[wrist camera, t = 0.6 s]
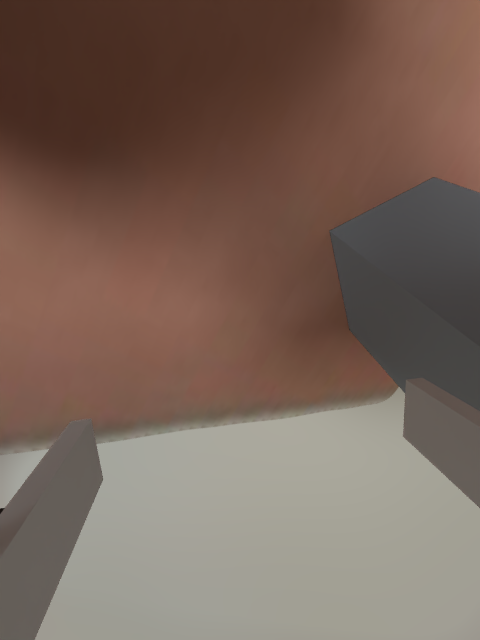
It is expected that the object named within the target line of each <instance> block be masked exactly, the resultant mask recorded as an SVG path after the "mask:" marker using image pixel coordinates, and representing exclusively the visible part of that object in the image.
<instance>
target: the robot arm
mask: <svg viewBox="0 0 480 640" xmlns="http://www.w3.org/2000/svg"><path fill="white" fill-rule="evenodd" d="M403 437H404V438H405V439H406V440H407V441H408V442H410V443H411V444H412V445H413V446H414V447H415V448H416V449H417V450H418V451H419V452H420V453H421V454H423V455H424V456H425V457H426V458H427V459H428V460H429V461H430V462H431V463H432V464H433V465H434V466H436V467H437V468H438V469H439V470H440V471H441V472H442V473H443V474H444V475H445V476H446V477H447V478H448V479H449V480H451V482H453V483H454V484H455V485H456V486H457V487H458V488H459V489H460V490H461V491H462V492H463V493H464V494H465V495H467V496H468V497H469V498H470V499H471V500H472V501H473V502H474V503H475V504H476V505H477V506H478V507H479V508H480V411H478V410H477V409H475V408H473V407H472V406H470V405H468V404H466V403H465V402H463V401H461V400H460V399H458V398H456V397H454V396H453V395H451V394H449V393H448V392H446V391H444V390H442V389H441V388H439V387H437V386H436V385H434V384H432V383H430V382H429V381H427V380H425V379H424V378H417V379H409V380H406V388H405V410H404V431H403ZM102 481H103V476H102V471H101V466H100V461H99V456H98V451H97V446H96V440H95V435H94V430H93V425H92V420H91V419H84V420H76V421H71V422H70V423H69V424H68V426H67V427H66V428H65V429H64V431H63V432H62V433H61V435H60V436H59V437H58V439H57V440H56V441H55V443H54V444H53V445H52V447H51V448H50V449H49V451H48V452H47V453H46V455H45V456H44V457H43V458H42V460H41V461H40V462H39V464H38V465H37V467H36V468H35V469H34V471H33V472H32V473H31V474H30V476H29V477H28V478H27V480H26V481H25V482H24V484H23V485H22V486H21V488H20V489H19V490H18V492H17V493H16V494H15V495H14V497H13V498H12V500H11V501H10V502H9V503H8V505H7V506H6V507H5V508H1V509H0V640H35V637H36V635H37V633H38V630H39V628H40V626H41V623H42V621H43V619H44V616H45V614H46V612H47V609H48V607H49V605H50V602H51V600H52V598H53V595H54V593H55V591H56V588H57V586H58V584H59V581H60V579H61V577H62V574H63V572H64V569H65V567H66V565H67V563H68V560H69V558H70V555H71V553H72V551H73V548H74V546H75V544H76V541H77V539H78V537H79V534H80V532H81V530H82V527H83V525H84V523H85V520H86V518H87V515H88V513H89V511H90V509H91V506H92V504H93V502H94V499H95V497H96V494H97V492H98V490H99V488H100V485H101V483H102Z"/></svg>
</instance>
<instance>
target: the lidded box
mask: <svg viewBox="0 0 480 640" xmlns="http://www.w3.org/2000/svg"><path fill="white" fill-rule="evenodd" d="M330 236H331V241H332V246H333V251H334V256H335V261H336V266H337V271H338V276H339V280H340V285H341V290H342V295H343V300H344V305H345V310H346V315H347V320H348V325H349V330H350V331H351V332H352V334H353V335H354V336H355V337H356V338H357V339H358V340H359V341H360V343H361V344H362V345H363V346H364V347H365V348H366V349H367V351H368V352H369V353H370V354H371V355H372V356H373V357H374V359H375V360H376V361H377V362H378V363H379V364H380V365H381V366H382V368H383V369H384V370H385V371H386V372H387V373H388V374H389V376H390V377H391V378H392V379H393V380H394V381H395V382H396V383H397V385H398V386H399V387H400V388H401V389H402V390H403V391H404V393H405V388H406V380H409V379H417V378H424V379H425V380H427V381H429V382H430V383H432V384H434V385H436V386H437V387H439V388H441V389H442V390H444V391H446V392H448V393H449V394H451V395H453V396H454V397H456V398H458V399H460V400H461V401H463V402H465V403H466V404H468V405H470V406H472V407H473V408H475V409H477V410H478V411H480V193H479V192H476V191H473V190H470V189H467V188H464V187H461V186H458V185H455V184H452V183H450V182H447V181H444V180H441V179H438V178H435V177H433V178H431V179H429V180H427V181H425V182H424V183H422V184H420V185H418V186H416V187H414V188H412V189H410V190H408V191H406V192H404V193H402V194H400V195H398V196H396V197H394V198H392V199H390V200H389V201H387V202H385V203H383V204H381V205H379V206H377V207H375V208H373V209H371V210H369V211H367V212H365V213H363V214H361V215H359V216H357V217H355V218H354V219H352V220H350V221H348V222H346V223H344V224H342V225H340V226H338V227H336V228H334V229H332V230H330Z"/></svg>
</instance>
